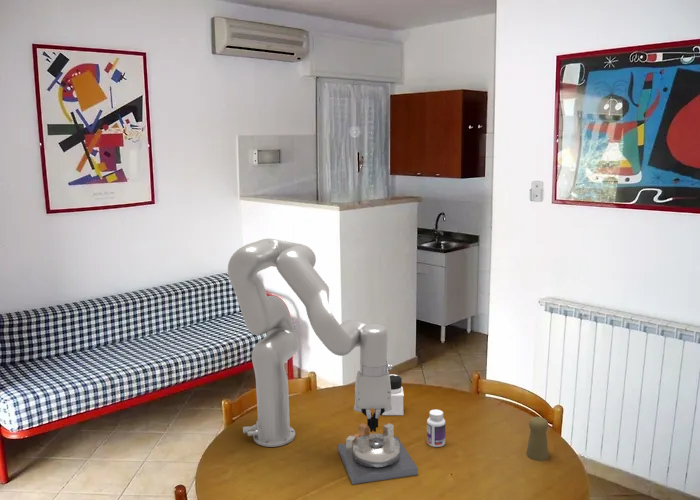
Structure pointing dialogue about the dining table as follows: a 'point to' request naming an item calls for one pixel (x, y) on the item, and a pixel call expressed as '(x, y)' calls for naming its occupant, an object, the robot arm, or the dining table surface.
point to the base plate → (370, 474)
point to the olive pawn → (538, 439)
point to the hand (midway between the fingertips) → (372, 429)
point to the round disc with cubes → (376, 447)
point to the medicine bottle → (396, 396)
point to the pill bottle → (436, 428)
